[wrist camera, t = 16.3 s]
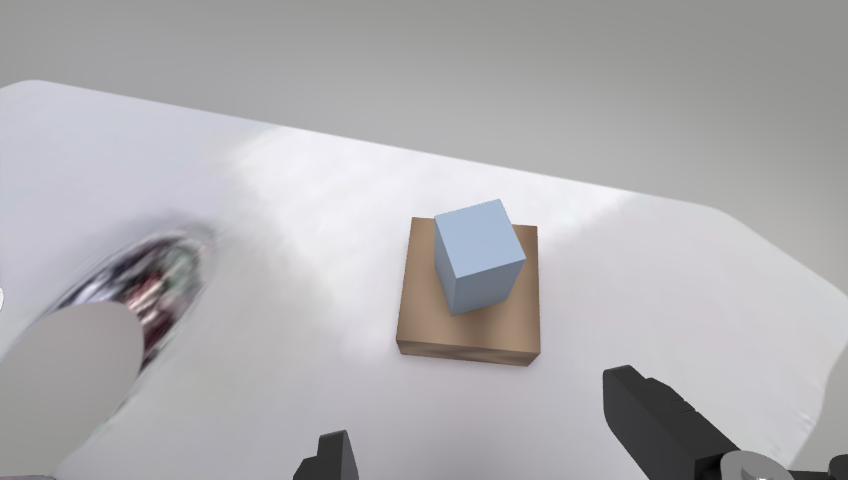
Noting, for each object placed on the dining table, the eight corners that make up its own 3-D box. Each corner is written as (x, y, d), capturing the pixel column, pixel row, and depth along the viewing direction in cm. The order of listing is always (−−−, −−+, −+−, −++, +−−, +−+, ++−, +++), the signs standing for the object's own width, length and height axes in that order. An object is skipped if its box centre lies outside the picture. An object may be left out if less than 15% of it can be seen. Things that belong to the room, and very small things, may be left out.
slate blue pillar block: (451, 316, 36) (456, 278, 28) (434, 265, 38) (434, 216, 30) (506, 300, 36) (526, 258, 28) (486, 250, 38) (499, 198, 30)
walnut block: (401, 354, 40) (395, 339, 35) (415, 244, 46) (412, 217, 40) (526, 367, 39) (540, 353, 34) (525, 253, 45) (537, 226, 39)
